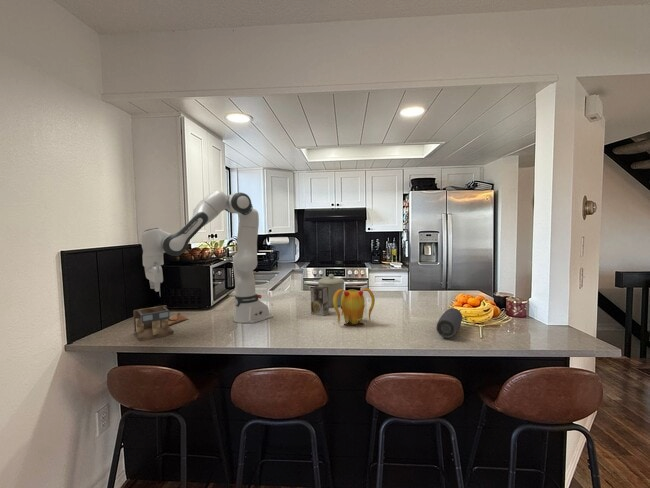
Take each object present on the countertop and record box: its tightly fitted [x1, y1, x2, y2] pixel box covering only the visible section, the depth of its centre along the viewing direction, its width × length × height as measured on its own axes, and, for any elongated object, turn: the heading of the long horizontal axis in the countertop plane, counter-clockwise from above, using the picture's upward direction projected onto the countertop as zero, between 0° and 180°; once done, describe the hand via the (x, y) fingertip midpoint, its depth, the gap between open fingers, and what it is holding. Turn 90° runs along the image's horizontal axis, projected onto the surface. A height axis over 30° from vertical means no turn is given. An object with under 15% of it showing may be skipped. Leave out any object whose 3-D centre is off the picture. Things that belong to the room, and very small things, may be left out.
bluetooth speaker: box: [436, 307, 463, 339], centre depth 151 cm, size 23×9×10 cm, turn 149°
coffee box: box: [310, 285, 330, 316], centre depth 187 cm, size 9×6×16 cm
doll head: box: [333, 287, 376, 328], centre depth 167 cm, size 22×15×20 cm
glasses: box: [138, 307, 171, 323], centre depth 156 cm, size 12×10×4 cm
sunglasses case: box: [168, 312, 190, 327], centre depth 175 cm, size 18×7×7 cm
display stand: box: [133, 304, 175, 342], centre depth 157 cm, size 15×14×12 cm
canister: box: [317, 273, 346, 308], centre depth 206 cm, size 18×18×21 cm
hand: (154, 289), depth 152 cm, fingers open, 8 cm apart
